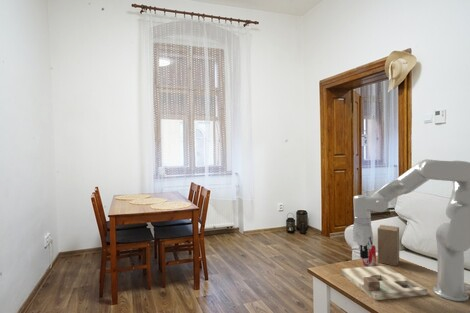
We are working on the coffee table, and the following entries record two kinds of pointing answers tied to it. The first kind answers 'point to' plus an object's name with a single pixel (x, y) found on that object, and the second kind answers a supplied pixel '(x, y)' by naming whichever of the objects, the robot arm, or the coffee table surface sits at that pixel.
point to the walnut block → (371, 284)
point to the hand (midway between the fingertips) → (364, 257)
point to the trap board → (384, 282)
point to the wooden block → (388, 245)
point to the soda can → (370, 257)
